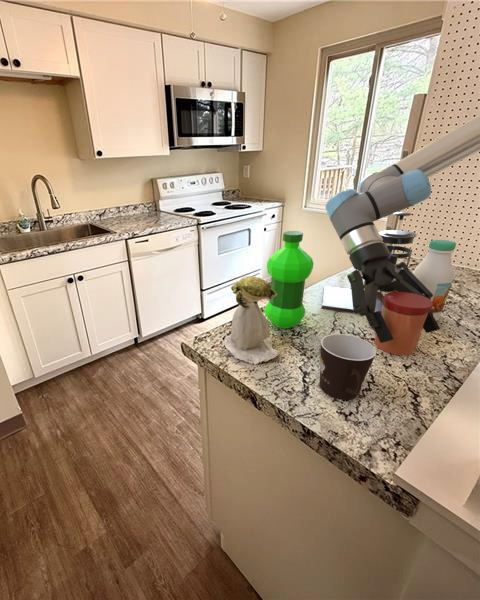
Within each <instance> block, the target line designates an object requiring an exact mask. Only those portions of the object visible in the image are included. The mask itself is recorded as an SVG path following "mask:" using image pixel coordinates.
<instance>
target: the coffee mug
mask: <svg viewBox="0 0 480 600" xmlns="http://www.w3.org/2000/svg"><path fill="white" fill-rule="evenodd" d="M319 355H320V356H319V388H320V389H321V391H322V392H323V393H324V394H326V395H327V396H329V397H330V398H332V399H335V400H340V401H351V400H354V399H356V398H357V396H358V395H359V394H360V392H361V390H362V386H363V384H364V381H365V379H366V377H367V375H368V373H369V370H370V368H371V366H372V364H373V362H374V359H375V357H376V356H377V349H376V348H375V345H373V344H372V343H370V342H369V341H367V340H365V339H363V338H361V337H358V336H356V335H351V334H345V333H331V334H327V335H325V336H323V337H322V338H321V339H320V353H319Z"/></svg>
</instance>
